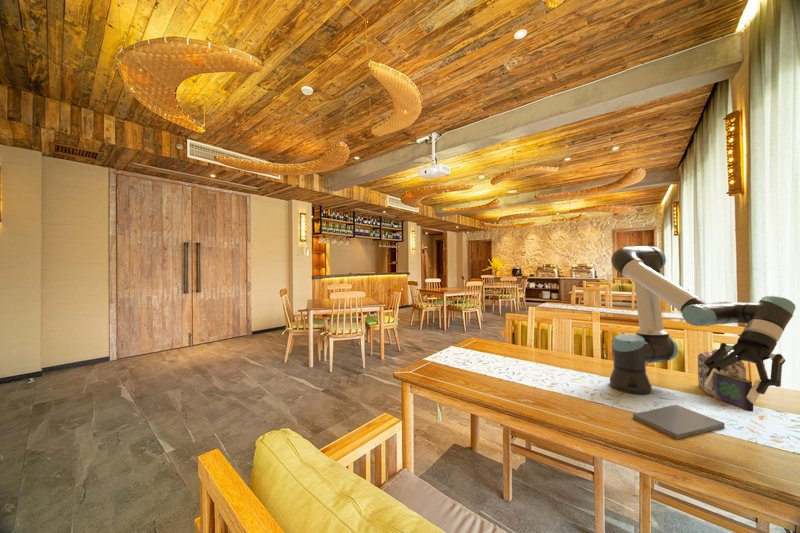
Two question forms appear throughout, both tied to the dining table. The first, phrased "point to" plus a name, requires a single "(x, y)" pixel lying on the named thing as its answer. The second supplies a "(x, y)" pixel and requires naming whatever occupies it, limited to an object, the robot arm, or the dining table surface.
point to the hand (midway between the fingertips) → (727, 393)
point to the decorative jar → (703, 371)
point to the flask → (732, 390)
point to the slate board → (678, 421)
